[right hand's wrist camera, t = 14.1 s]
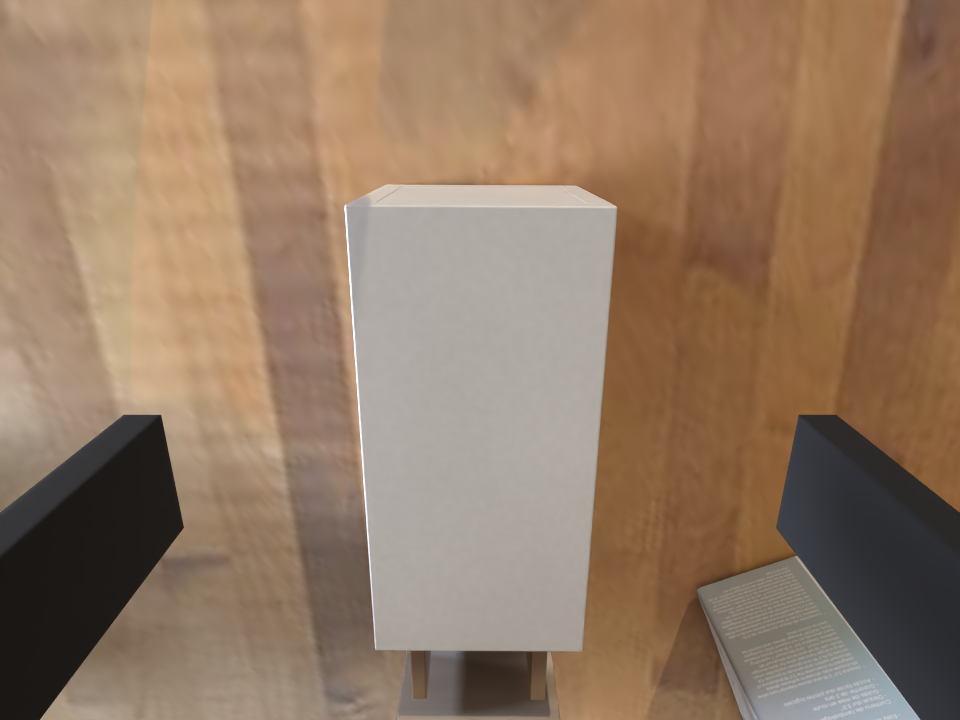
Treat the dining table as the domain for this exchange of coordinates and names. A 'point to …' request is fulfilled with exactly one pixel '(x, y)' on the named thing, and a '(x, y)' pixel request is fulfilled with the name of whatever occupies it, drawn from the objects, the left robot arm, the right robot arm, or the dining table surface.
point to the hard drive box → (795, 650)
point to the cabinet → (480, 408)
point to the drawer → (478, 686)
